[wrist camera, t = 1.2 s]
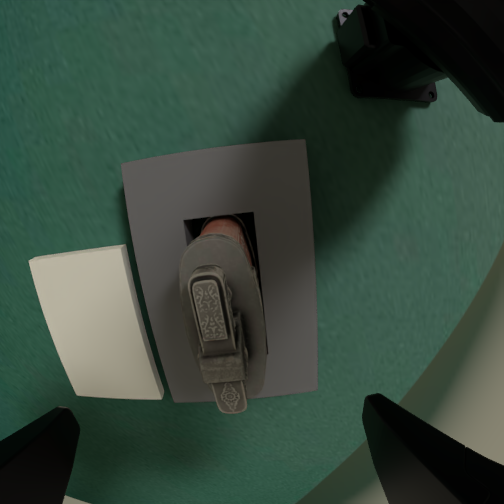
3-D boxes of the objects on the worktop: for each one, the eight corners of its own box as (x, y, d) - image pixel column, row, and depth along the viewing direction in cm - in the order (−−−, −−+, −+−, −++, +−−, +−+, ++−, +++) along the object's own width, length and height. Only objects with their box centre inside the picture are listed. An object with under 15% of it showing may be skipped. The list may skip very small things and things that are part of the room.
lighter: (265, 325, 21) (279, 433, 12) (216, 331, 21) (200, 440, 12) (248, 206, 19) (254, 247, 9) (193, 215, 19) (145, 262, 10)
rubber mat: (126, 244, 19) (120, 247, 19) (164, 391, 23) (162, 399, 22) (35, 256, 20) (28, 260, 19) (81, 388, 23) (76, 395, 22)
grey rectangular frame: (297, 142, 18) (305, 138, 16) (311, 369, 22) (317, 390, 20) (135, 163, 18) (120, 163, 16) (179, 381, 22) (174, 402, 20)
